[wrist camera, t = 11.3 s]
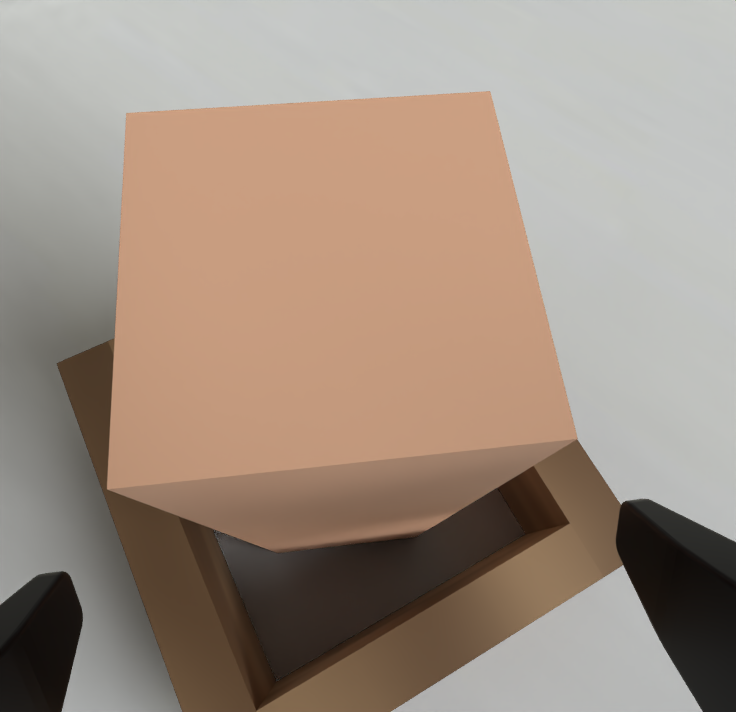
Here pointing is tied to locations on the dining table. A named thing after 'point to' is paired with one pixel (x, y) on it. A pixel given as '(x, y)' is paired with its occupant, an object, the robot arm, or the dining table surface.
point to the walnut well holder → (381, 640)
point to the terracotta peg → (326, 320)
